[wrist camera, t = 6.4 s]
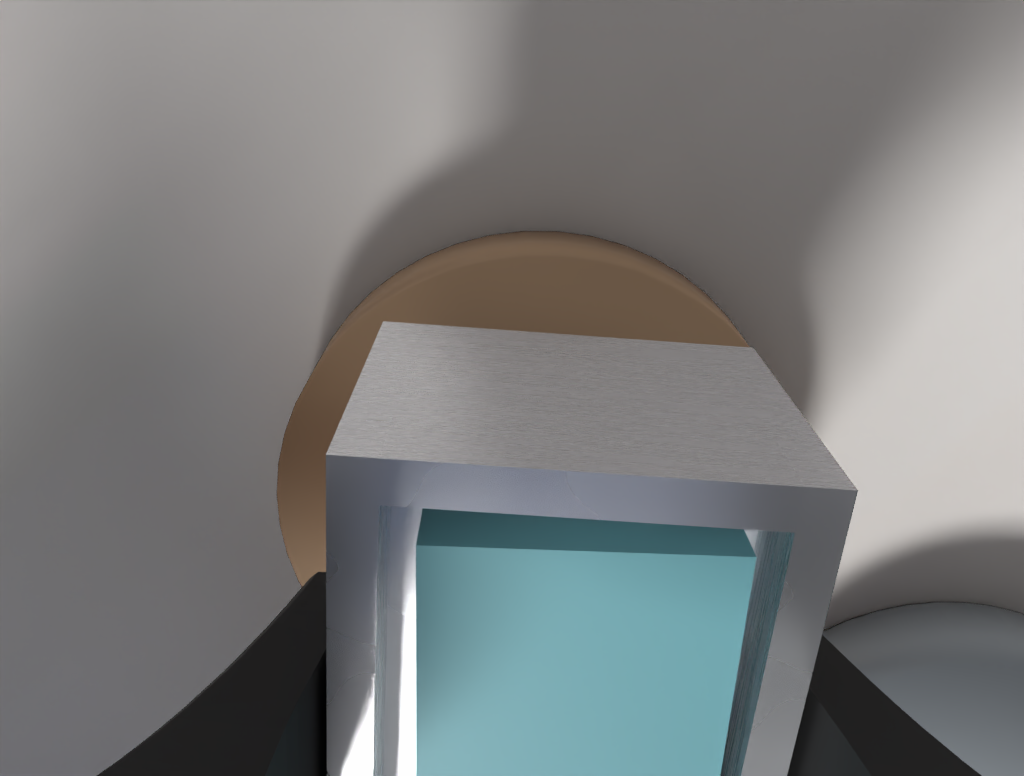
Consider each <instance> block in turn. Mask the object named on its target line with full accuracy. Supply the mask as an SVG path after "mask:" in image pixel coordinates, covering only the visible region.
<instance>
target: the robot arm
mask: <svg viewBox="0 0 1024 776" xmlns="http://www.w3.org/2000/svg"><path fill="white" fill-rule="evenodd" d="M97 776H327V684H326V572H317V573H316V574H314V575H313V576H312V577H311V578H309V580H308V581H307V582H306V583H305V584H304V586H303V587H302V588H301V589H300V590H299V592H298V593H297V594H296V595H295V596H294V597H293V599H292V600H291V601H290V602H289V603H288V604H287V606H286V607H285V608H284V609H283V610H282V611H281V612H280V613H279V615H278V616H277V617H276V618H275V619H274V620H273V621H272V622H271V623H270V624H269V626H268V627H267V628H266V629H265V630H264V631H263V632H262V633H261V634H260V635H259V636H258V637H257V638H256V639H255V640H254V641H253V642H252V643H251V644H250V645H249V646H248V647H247V649H246V650H245V651H244V652H243V653H242V654H241V655H240V656H239V657H238V658H237V659H236V660H235V661H234V662H233V663H232V664H231V665H230V666H229V667H228V668H227V669H226V670H225V671H224V672H223V673H222V674H221V675H219V676H218V677H217V678H216V679H215V680H214V681H213V682H212V683H211V684H210V685H209V686H207V687H206V688H205V689H204V690H203V691H202V692H201V693H200V694H199V695H198V696H196V697H195V698H194V699H193V700H192V701H191V702H190V703H189V704H188V705H187V706H186V707H184V708H183V709H182V710H181V711H180V712H179V713H178V714H176V715H175V716H174V717H173V718H172V719H170V720H169V721H168V722H167V723H166V724H164V725H163V726H162V727H161V728H160V729H158V730H157V731H156V732H155V733H153V734H152V735H151V736H150V737H149V738H147V739H146V740H145V741H143V742H142V743H141V744H139V745H138V746H137V747H136V748H134V749H133V750H132V751H130V752H129V753H128V754H126V755H125V756H124V757H123V758H121V759H120V760H119V761H117V762H116V763H114V764H113V765H112V766H110V767H109V768H107V769H106V770H104V771H103V772H102V773H100V774H99V775H97ZM787 776H982V775H980V774H979V773H978V772H977V771H975V770H974V769H973V768H971V767H970V766H969V765H967V764H966V763H965V762H964V761H962V760H961V759H960V758H959V757H958V756H956V755H955V754H954V753H953V752H952V751H950V750H949V749H948V748H947V747H946V746H944V745H943V744H942V743H941V742H940V741H938V740H937V739H936V738H935V737H934V736H932V735H931V734H930V733H929V732H927V731H926V730H925V729H924V728H923V727H921V726H920V725H919V724H918V723H917V722H916V721H915V720H913V719H912V718H911V717H910V716H909V715H908V714H907V713H906V712H904V711H903V710H902V709H901V708H900V707H899V706H898V705H897V704H895V703H894V702H893V701H892V700H891V699H890V698H889V697H888V696H887V695H885V694H884V693H883V692H882V691H881V690H880V689H879V688H878V687H877V686H876V685H875V684H874V683H872V682H871V681H870V680H869V679H868V678H867V677H866V676H865V675H864V674H863V673H862V672H861V671H860V670H859V669H858V668H857V667H856V666H854V665H853V664H852V663H851V662H850V661H849V660H848V659H847V658H846V657H845V656H844V655H843V654H842V653H841V652H840V651H839V650H838V649H837V648H836V647H835V646H834V645H833V644H832V643H831V642H830V641H828V640H827V639H826V638H825V637H824V636H823V635H822V637H821V641H820V645H819V649H818V653H817V657H816V661H815V665H814V669H813V673H812V677H811V681H810V685H809V689H808V693H807V697H806V701H805V705H804V709H803V713H802V718H801V722H800V726H799V730H798V734H797V738H796V742H795V746H794V750H793V754H792V758H791V762H790V766H789V770H788V774H787Z"/></svg>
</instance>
